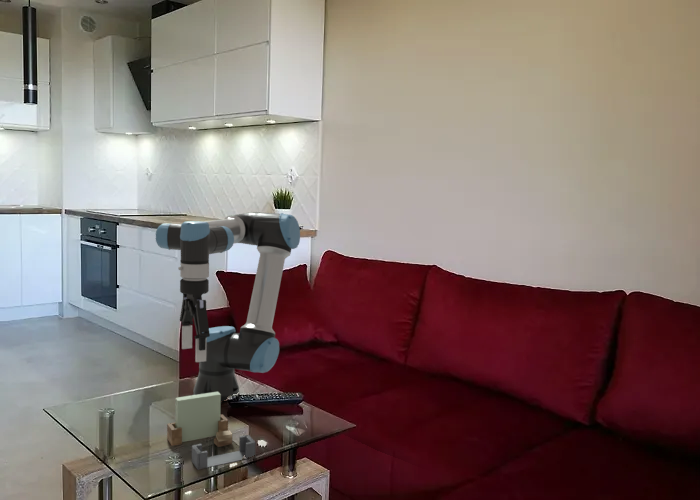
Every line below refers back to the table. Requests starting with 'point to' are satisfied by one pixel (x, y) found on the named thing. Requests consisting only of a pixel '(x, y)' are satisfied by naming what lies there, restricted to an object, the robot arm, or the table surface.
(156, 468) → the table surface
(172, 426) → the rack
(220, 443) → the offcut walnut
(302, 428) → the table surface
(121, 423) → the table surface
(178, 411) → the sheet
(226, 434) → the offcut mdf
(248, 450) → the display stand
